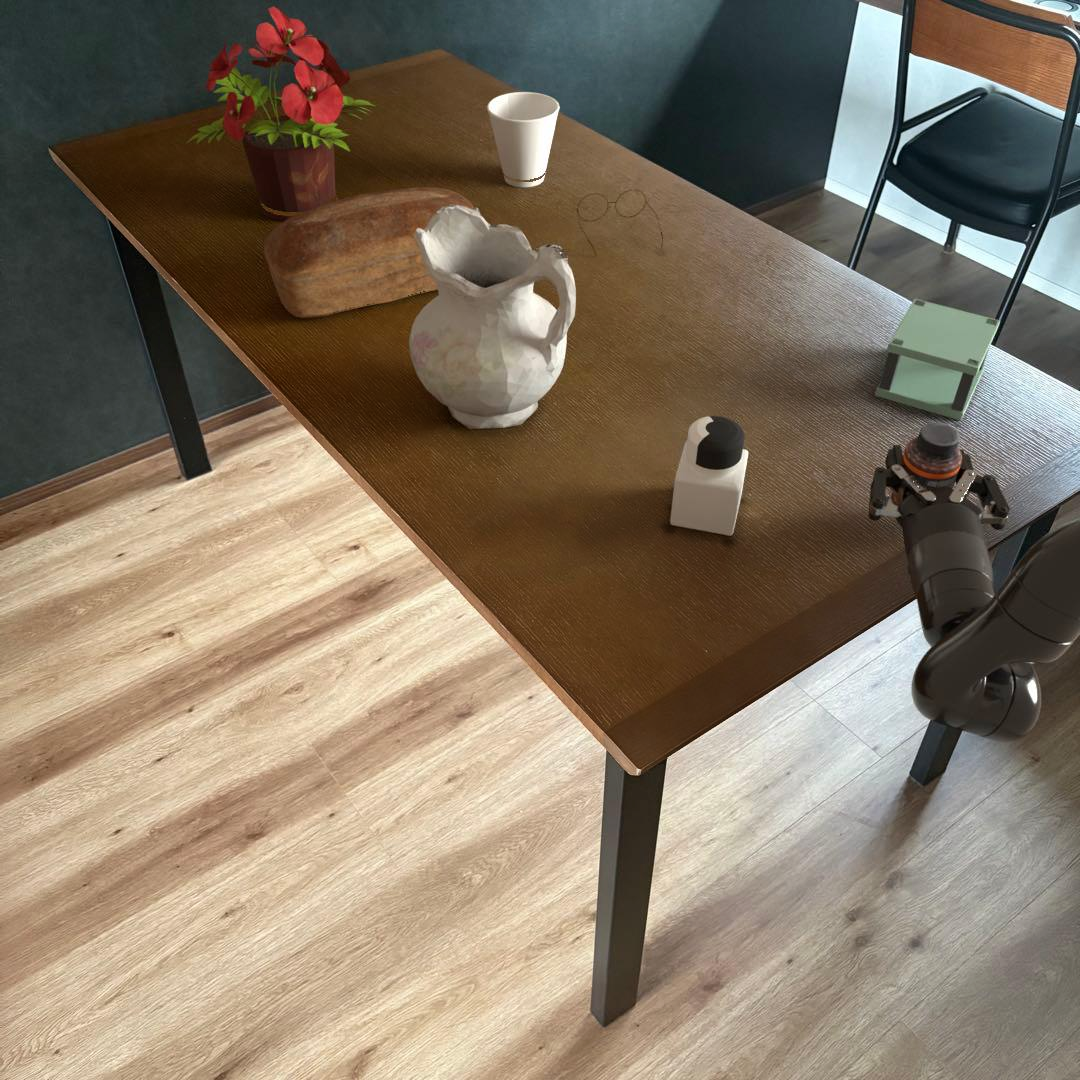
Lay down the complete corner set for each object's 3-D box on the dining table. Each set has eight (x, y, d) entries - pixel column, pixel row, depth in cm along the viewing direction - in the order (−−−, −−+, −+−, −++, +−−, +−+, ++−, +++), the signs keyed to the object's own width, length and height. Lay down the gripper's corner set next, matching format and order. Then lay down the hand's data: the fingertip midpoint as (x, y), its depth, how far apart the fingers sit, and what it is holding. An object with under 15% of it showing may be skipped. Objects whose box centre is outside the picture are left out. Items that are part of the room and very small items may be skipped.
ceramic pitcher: (601, 389, 142) (613, 206, 127) (553, 470, 128) (558, 276, 112) (451, 358, 148) (443, 180, 132) (388, 433, 134) (371, 243, 118)
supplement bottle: (877, 501, 122) (899, 421, 114) (923, 490, 123) (948, 410, 115) (905, 535, 118) (930, 455, 110) (953, 524, 119) (981, 443, 111)
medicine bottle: (741, 496, 125) (755, 414, 117) (732, 537, 121) (746, 454, 112) (680, 486, 127) (689, 403, 119) (669, 526, 122) (678, 443, 114)
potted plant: (284, 258, 165) (246, 56, 144) (185, 201, 179) (137, 9, 158) (427, 193, 181) (412, 1, 160) (326, 145, 194) (299, -37, 173)
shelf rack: (982, 372, 143) (1000, 320, 137) (960, 421, 136) (978, 368, 130) (900, 349, 147) (914, 298, 141) (874, 395, 139) (888, 343, 134)
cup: (509, 200, 178) (507, 126, 170) (477, 172, 186) (474, 100, 177) (571, 184, 183) (573, 111, 174) (538, 157, 190) (537, 86, 181)
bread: (492, 284, 160) (489, 198, 150) (288, 332, 150) (271, 244, 141) (462, 247, 167) (457, 163, 158) (267, 291, 158) (249, 205, 149)
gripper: (1036, 538, 103) (1003, 430, 115) (881, 527, 104) (865, 421, 116) (1013, 593, 108) (984, 483, 120) (865, 581, 109) (852, 474, 121)
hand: (925, 453), depth 118 cm, fingers closed on supplement bottle, 6 cm apart
